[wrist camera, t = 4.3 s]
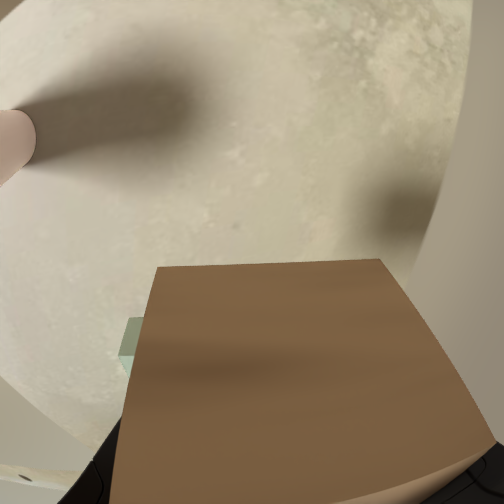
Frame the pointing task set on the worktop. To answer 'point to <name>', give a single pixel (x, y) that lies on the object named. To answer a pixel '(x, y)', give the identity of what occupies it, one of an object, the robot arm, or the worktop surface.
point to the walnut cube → (290, 391)
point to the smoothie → (15, 142)
